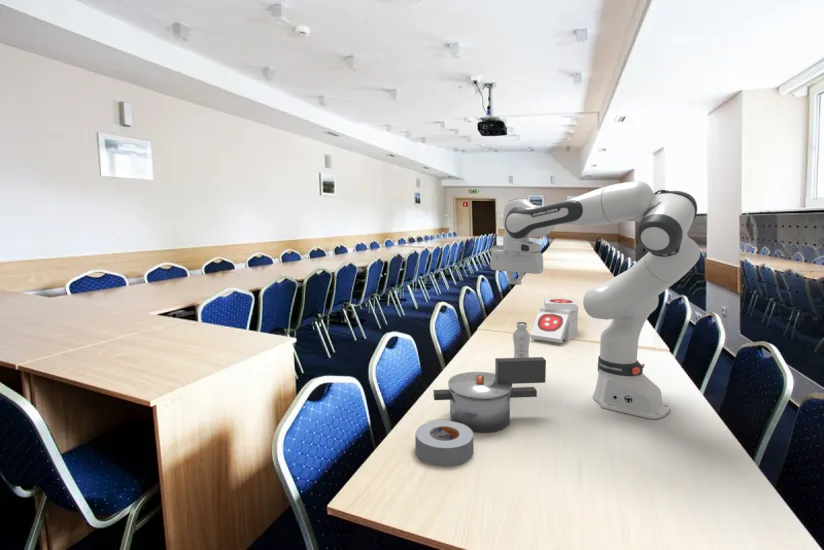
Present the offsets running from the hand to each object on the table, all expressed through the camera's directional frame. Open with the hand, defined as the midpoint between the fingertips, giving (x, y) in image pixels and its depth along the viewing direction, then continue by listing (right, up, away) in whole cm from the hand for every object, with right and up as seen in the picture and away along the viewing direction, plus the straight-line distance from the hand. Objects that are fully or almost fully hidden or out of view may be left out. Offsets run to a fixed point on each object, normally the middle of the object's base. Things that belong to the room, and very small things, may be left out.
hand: (515, 284), depth 155 cm
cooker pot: (-15, -40, -22) cm, 49 cm away
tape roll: (-28, -44, -40) cm, 66 cm away
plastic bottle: (+6, -35, +16) cm, 40 cm away
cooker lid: (-11, -30, -24) cm, 40 cm away
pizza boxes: (+36, -29, +65) cm, 80 cm away
